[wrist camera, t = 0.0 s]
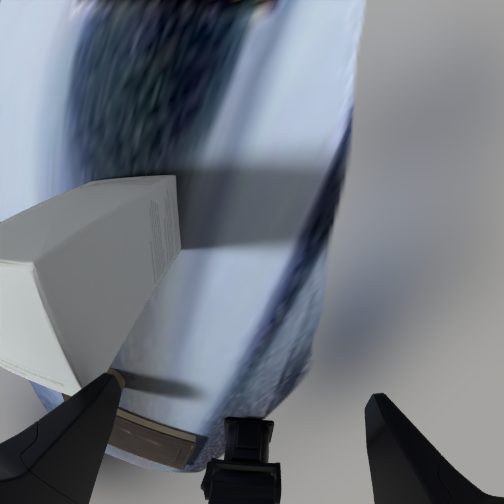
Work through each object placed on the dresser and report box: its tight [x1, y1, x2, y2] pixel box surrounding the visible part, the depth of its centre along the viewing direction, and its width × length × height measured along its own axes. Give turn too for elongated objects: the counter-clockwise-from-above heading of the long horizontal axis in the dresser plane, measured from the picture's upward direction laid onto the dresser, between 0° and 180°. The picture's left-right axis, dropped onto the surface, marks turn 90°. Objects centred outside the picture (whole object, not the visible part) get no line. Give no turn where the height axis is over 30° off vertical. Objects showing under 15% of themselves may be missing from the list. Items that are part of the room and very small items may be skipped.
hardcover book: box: [62, 393, 197, 470], centre depth 37 cm, size 16×23×2 cm
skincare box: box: [0, 175, 181, 396], centre depth 14 cm, size 8×7×16 cm
